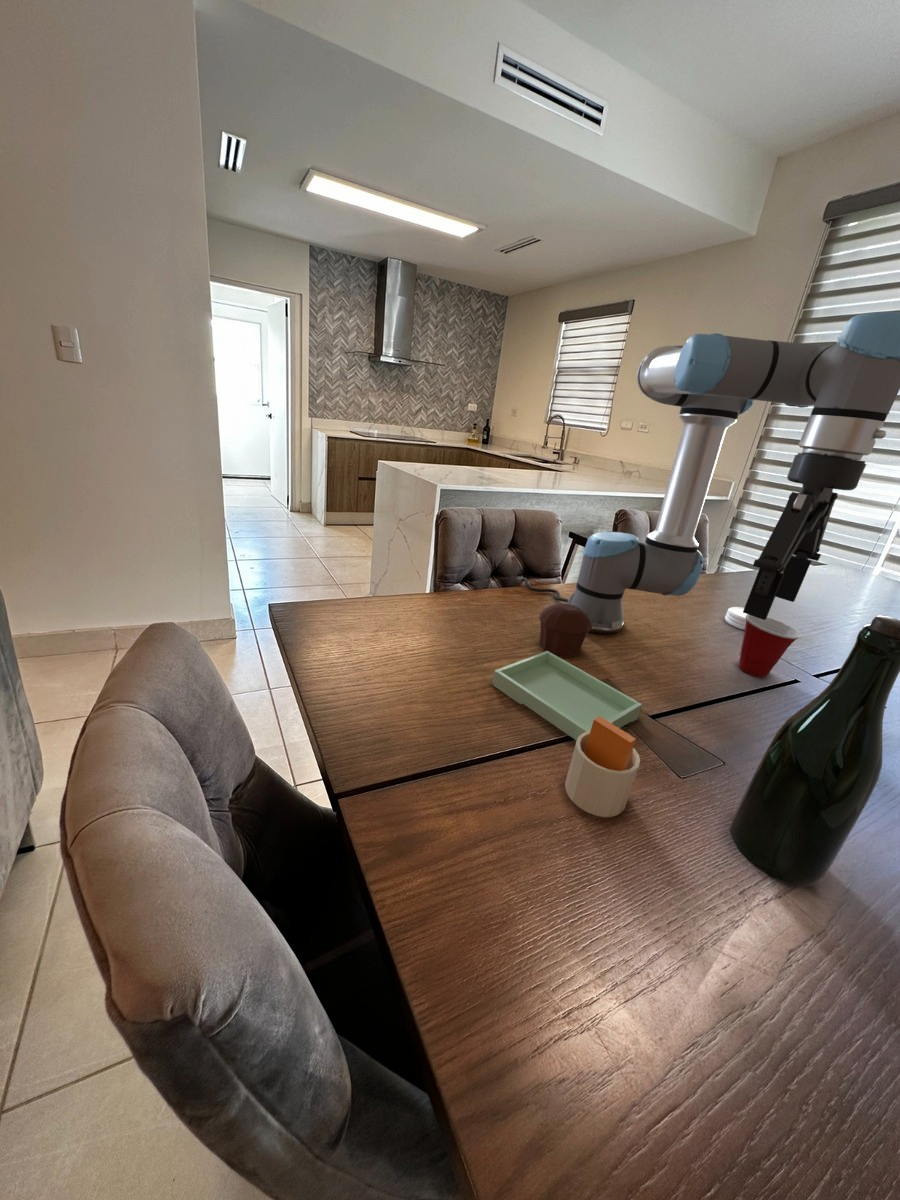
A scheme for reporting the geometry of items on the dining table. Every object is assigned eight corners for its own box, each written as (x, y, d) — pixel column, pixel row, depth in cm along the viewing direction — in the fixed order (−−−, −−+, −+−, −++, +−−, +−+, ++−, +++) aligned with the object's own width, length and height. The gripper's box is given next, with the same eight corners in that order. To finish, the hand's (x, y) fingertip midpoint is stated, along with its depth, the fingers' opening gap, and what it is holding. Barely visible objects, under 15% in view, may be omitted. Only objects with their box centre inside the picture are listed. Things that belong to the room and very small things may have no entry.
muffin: (589, 645, 109) (599, 606, 106) (580, 665, 100) (591, 623, 96) (540, 630, 114) (548, 592, 110) (527, 649, 104) (535, 608, 100)
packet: (575, 782, 67) (593, 719, 63) (581, 778, 68) (599, 715, 64) (609, 808, 63) (630, 742, 59) (614, 803, 64) (636, 738, 60)
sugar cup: (552, 789, 66) (564, 744, 63) (586, 766, 71) (599, 723, 68) (602, 830, 60) (618, 782, 57) (635, 802, 65) (651, 757, 62)
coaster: (764, 625, 134) (768, 613, 133) (764, 636, 126) (768, 624, 125) (725, 614, 139) (729, 603, 137) (722, 624, 131) (727, 613, 129)
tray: (491, 684, 89) (494, 670, 88) (544, 663, 99) (547, 650, 98) (586, 751, 74) (591, 734, 73) (637, 719, 84) (642, 704, 83)
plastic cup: (790, 688, 101) (813, 639, 97) (737, 677, 103) (757, 629, 98) (769, 664, 111) (789, 618, 106) (720, 654, 113) (738, 609, 108)
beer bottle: (841, 879, 58) (992, 642, 45) (782, 901, 54) (928, 649, 41) (764, 812, 67) (871, 598, 54) (709, 826, 63) (810, 601, 50)
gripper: (847, 456, 49) (772, 636, 57) (884, 460, 65) (821, 600, 73) (768, 446, 54) (709, 613, 62) (820, 453, 70) (768, 584, 78)
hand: (769, 606), depth 68 cm, fingers open, 13 cm apart
